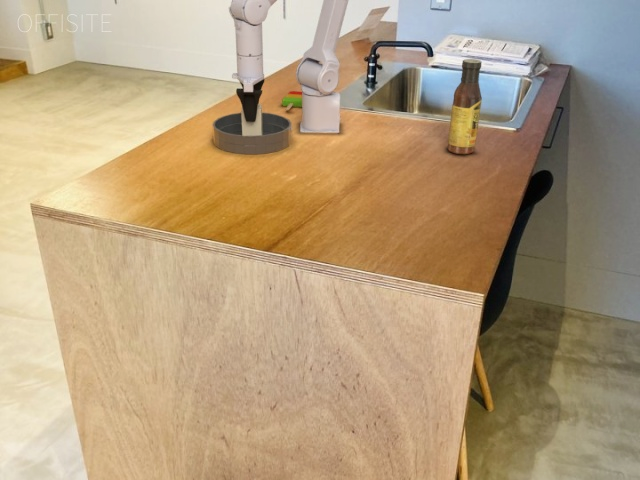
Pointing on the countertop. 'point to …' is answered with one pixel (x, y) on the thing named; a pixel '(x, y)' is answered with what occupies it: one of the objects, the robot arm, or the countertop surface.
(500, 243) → the countertop surface
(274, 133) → the steel cake pan
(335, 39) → the robot arm
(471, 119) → the sauce bottle
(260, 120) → the cream block
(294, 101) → the popsicle
